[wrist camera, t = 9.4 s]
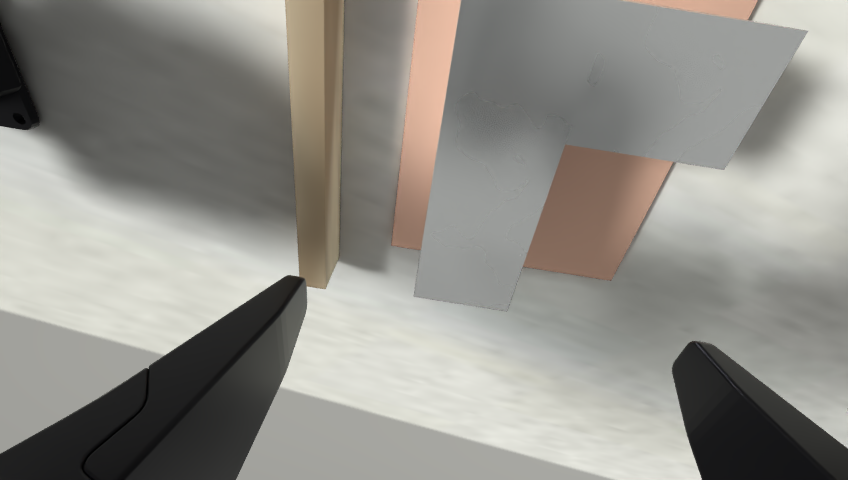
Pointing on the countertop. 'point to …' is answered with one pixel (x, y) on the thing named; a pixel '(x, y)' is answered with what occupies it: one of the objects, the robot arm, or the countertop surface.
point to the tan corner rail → (316, 131)
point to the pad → (575, 176)
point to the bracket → (575, 116)
